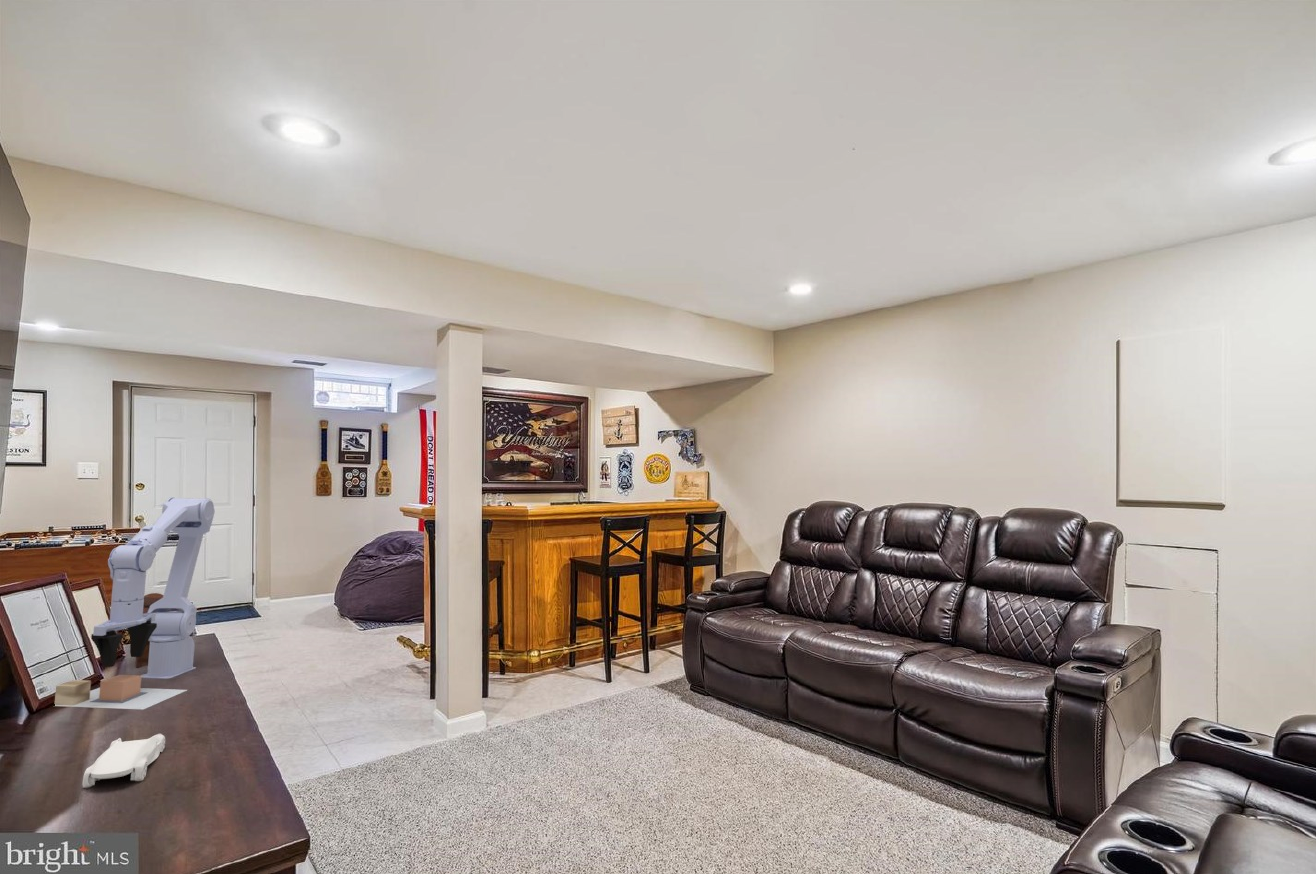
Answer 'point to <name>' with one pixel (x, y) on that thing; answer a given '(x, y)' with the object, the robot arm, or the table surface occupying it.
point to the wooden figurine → (143, 660)
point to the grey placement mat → (130, 699)
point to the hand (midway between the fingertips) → (122, 661)
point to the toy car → (125, 760)
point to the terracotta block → (120, 687)
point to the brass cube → (72, 692)
